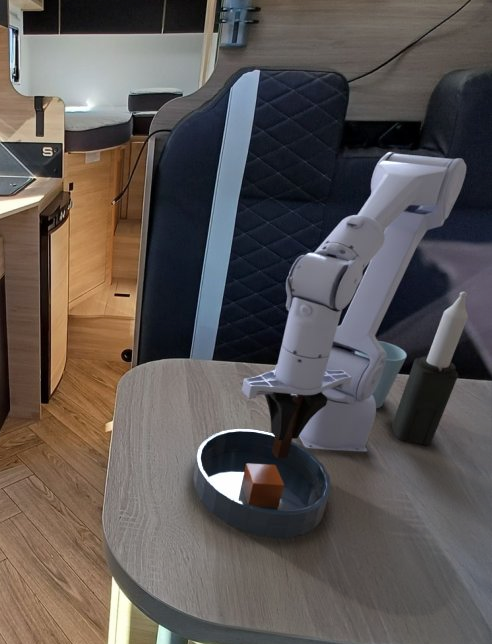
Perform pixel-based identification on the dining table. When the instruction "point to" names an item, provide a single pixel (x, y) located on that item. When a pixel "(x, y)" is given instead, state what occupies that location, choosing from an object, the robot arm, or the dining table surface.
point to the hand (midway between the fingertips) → (284, 435)
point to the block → (262, 485)
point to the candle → (431, 381)
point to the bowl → (227, 474)
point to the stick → (283, 446)
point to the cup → (387, 371)
